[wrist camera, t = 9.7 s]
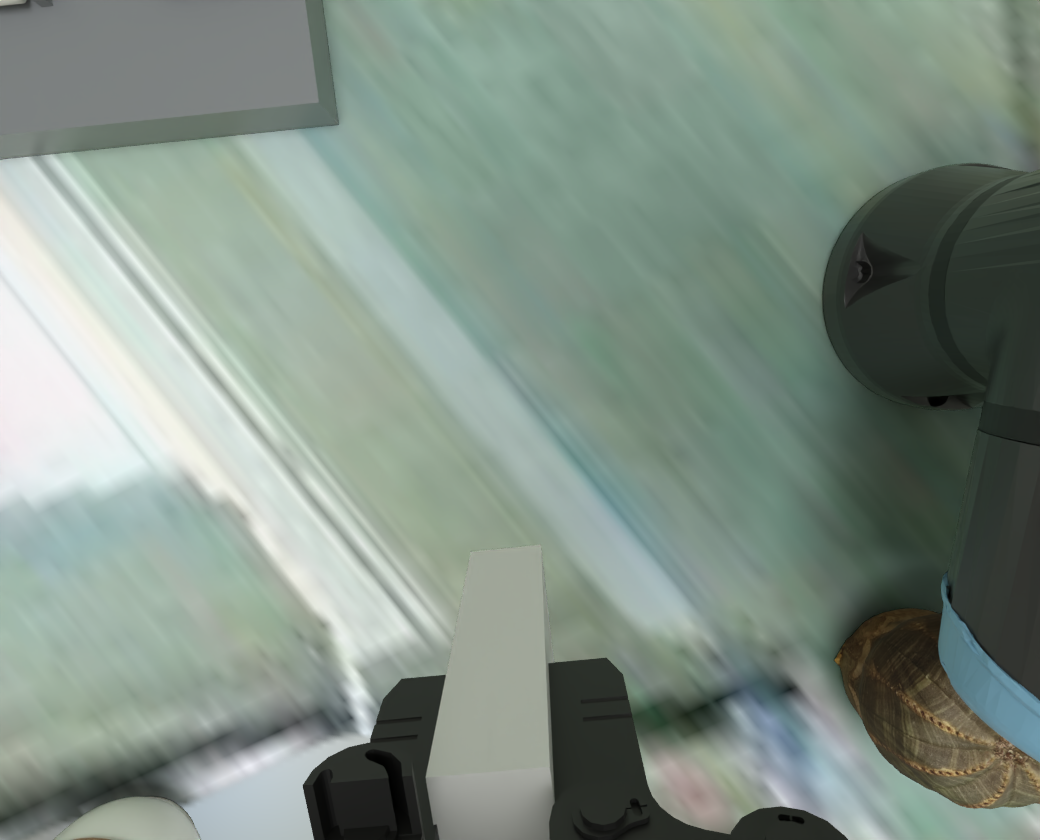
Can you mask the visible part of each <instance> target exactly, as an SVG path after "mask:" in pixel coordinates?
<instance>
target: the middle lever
mask: <svg viewBox="0 0 1040 840" xmlns="http://www.w3.org/2000/svg"><path fill="white" fill-rule="evenodd" d="M26 1H27V0H0V6H4V5H14V4H24V3H25V2H26Z"/></svg>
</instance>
